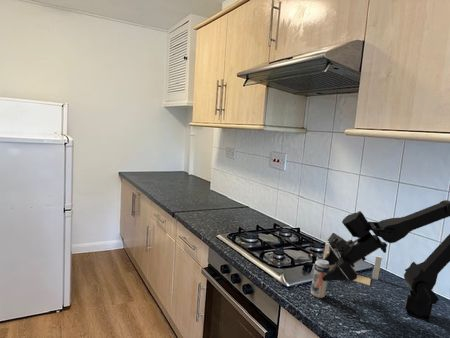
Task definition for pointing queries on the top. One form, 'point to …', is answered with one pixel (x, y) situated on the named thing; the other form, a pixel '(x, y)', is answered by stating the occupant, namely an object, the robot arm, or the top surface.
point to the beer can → (319, 278)
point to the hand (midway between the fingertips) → (320, 273)
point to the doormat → (362, 280)
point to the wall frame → (376, 266)
